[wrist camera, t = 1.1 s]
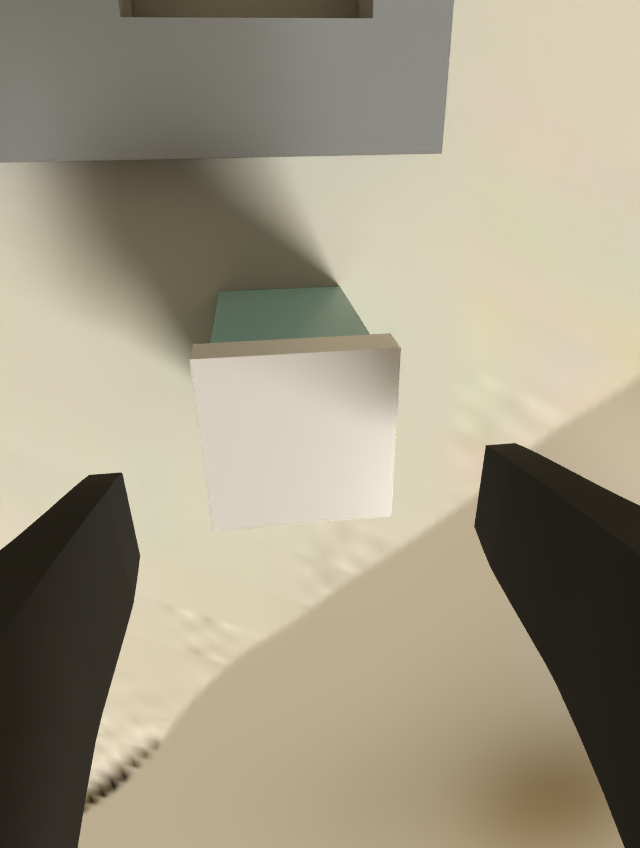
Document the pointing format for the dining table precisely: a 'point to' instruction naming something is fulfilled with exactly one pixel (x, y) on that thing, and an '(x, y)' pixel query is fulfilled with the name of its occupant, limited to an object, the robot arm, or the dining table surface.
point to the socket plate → (220, 82)
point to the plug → (295, 410)
